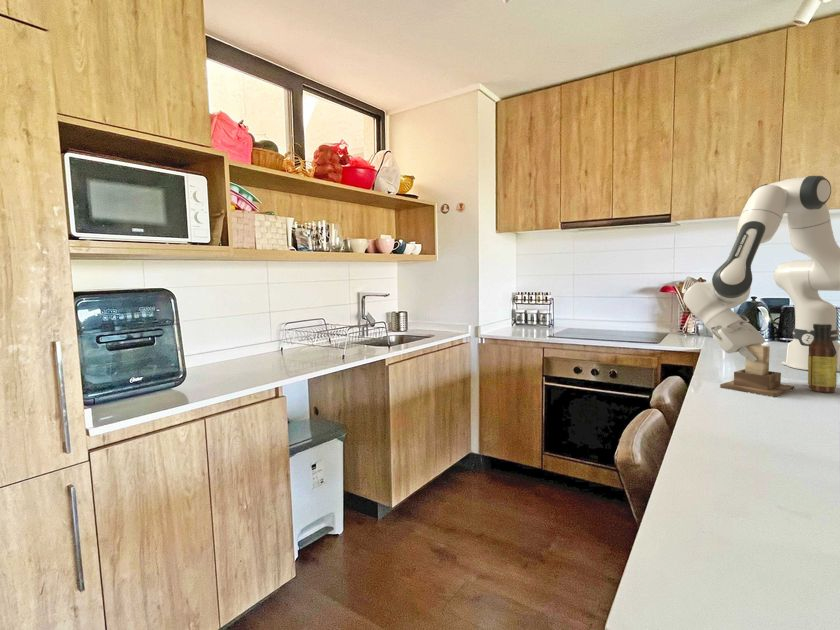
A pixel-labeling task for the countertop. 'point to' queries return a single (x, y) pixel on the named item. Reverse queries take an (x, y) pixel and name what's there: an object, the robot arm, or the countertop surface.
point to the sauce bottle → (822, 360)
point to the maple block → (763, 360)
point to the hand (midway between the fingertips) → (759, 359)
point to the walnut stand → (758, 383)
